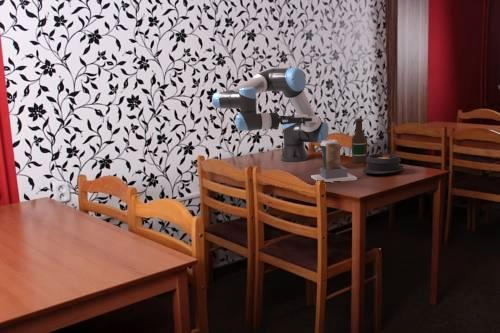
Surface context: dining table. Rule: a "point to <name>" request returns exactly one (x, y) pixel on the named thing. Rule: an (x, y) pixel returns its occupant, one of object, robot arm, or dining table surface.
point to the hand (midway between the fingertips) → (312, 118)
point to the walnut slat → (332, 156)
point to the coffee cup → (323, 146)
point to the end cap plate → (334, 175)
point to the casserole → (383, 164)
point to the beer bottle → (358, 144)
